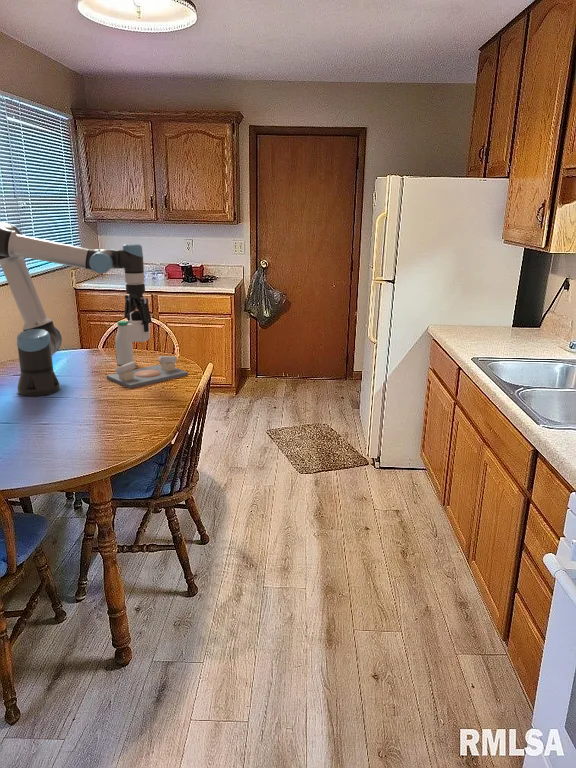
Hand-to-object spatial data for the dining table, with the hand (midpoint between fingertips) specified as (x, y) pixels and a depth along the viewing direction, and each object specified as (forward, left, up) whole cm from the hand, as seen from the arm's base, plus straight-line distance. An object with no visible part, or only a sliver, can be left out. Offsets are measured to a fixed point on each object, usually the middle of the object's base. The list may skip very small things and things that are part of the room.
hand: (139, 337), depth 231 cm
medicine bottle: (0, 0, -1) cm, 1 cm away
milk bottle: (+8, +26, -19) cm, 33 cm away
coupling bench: (+4, +1, -18) cm, 19 cm away
